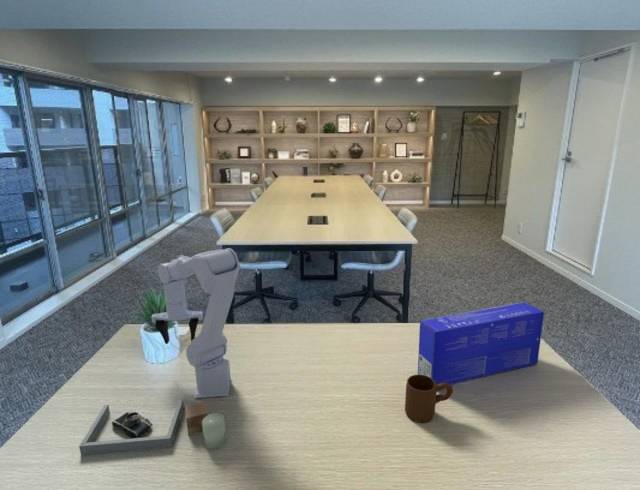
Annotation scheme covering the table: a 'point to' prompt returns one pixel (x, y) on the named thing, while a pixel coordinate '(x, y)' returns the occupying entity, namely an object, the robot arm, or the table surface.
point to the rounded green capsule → (214, 431)
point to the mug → (424, 397)
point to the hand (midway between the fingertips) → (180, 341)
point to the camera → (133, 424)
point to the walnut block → (195, 417)
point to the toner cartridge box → (479, 342)
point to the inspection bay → (127, 444)
